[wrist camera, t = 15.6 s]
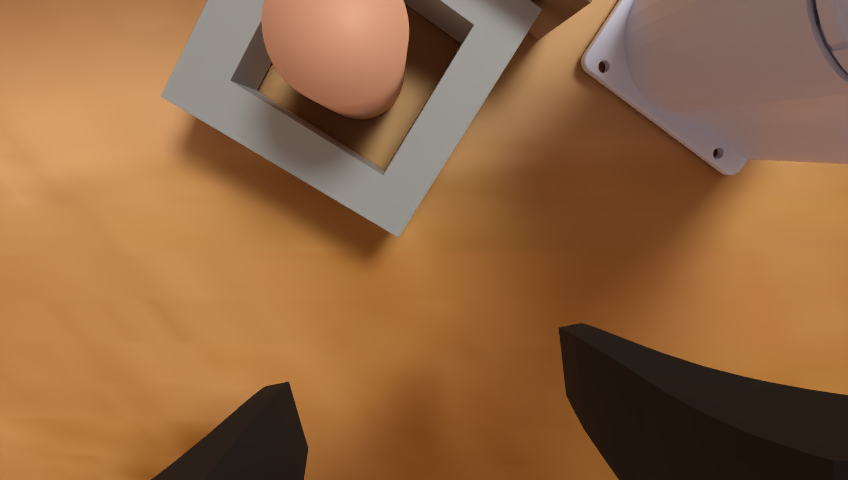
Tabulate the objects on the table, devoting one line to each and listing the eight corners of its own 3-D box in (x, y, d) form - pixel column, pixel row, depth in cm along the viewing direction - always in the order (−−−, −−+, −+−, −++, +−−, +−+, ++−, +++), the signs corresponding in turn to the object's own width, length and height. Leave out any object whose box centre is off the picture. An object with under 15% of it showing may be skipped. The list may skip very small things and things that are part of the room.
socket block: (518, 31, 18) (541, 9, 15) (397, 223, 20) (398, 237, 17) (313, -122, 16) (295, -179, 13) (198, 104, 18) (160, 96, 15)
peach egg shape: (415, 103, 19) (427, 80, 12) (331, 131, 19) (294, 123, 12) (386, 9, 18) (381, -74, 11) (297, 38, 18) (237, -27, 11)
